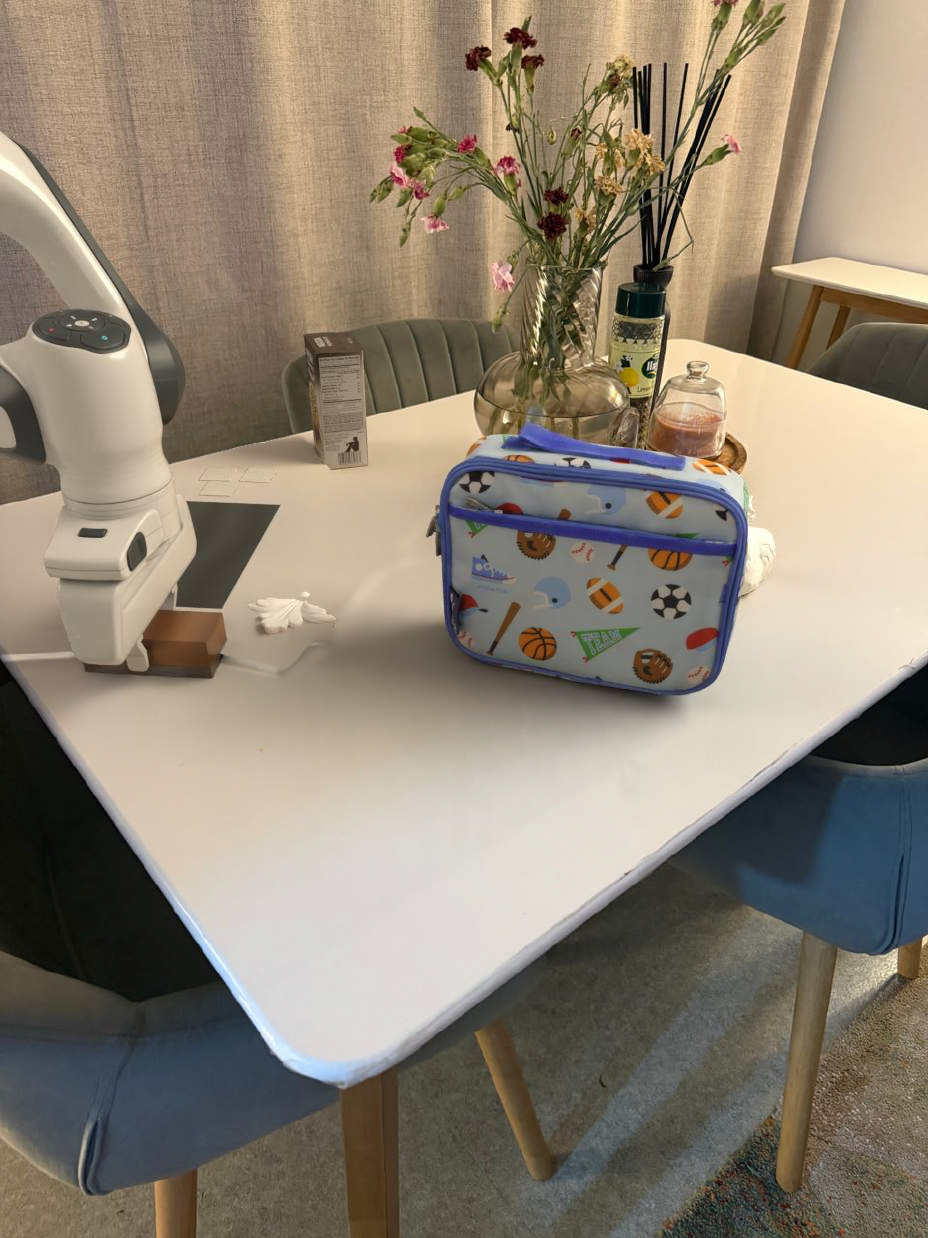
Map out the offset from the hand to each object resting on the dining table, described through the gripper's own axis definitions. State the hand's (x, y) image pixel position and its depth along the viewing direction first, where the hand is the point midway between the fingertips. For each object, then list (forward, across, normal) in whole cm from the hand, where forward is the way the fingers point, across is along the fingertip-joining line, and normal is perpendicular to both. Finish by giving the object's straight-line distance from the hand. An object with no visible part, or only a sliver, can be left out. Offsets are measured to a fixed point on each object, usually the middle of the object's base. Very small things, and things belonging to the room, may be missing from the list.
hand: (154, 646), depth 83 cm
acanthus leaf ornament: (+2, -8, +11) cm, 14 cm away
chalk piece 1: (+2, -40, -6) cm, 41 cm away
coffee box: (+2, -50, +8) cm, 51 cm away
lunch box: (+2, -3, +39) cm, 39 cm away
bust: (+2, -19, +56) cm, 59 cm away
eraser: (+2, 0, 0) cm, 2 cm away
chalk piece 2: (+2, -36, -5) cm, 36 cm away
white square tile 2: (+2, -40, -1) cm, 40 cm away
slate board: (+2, -20, -4) cm, 20 cm away
